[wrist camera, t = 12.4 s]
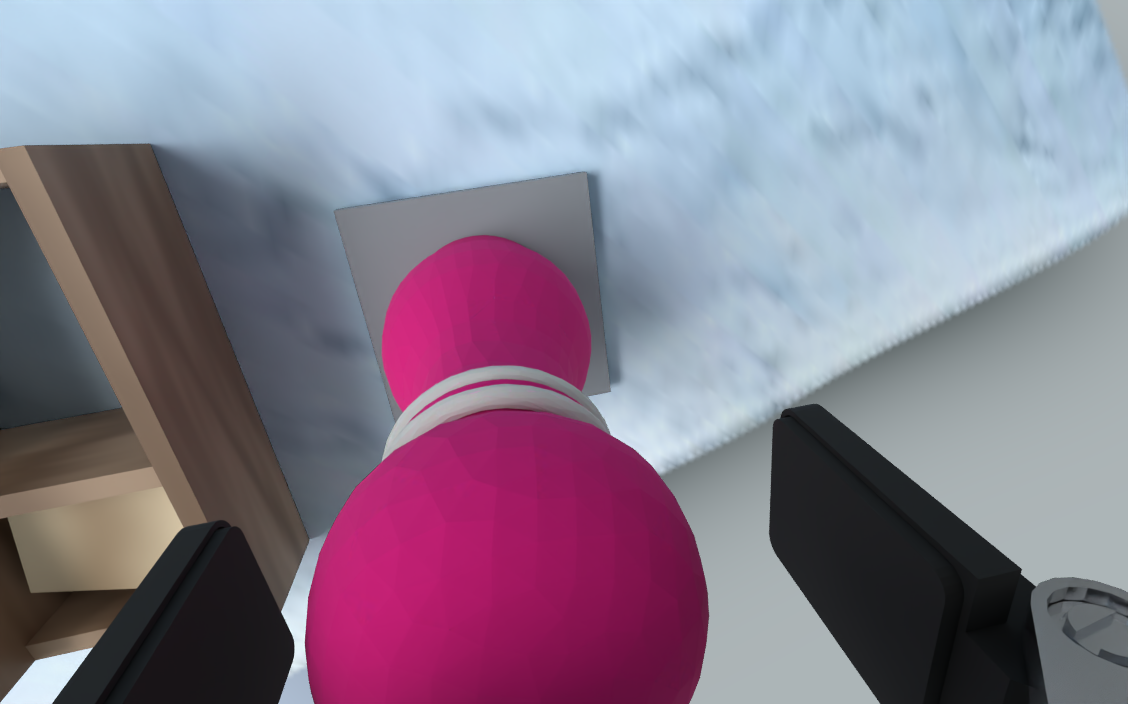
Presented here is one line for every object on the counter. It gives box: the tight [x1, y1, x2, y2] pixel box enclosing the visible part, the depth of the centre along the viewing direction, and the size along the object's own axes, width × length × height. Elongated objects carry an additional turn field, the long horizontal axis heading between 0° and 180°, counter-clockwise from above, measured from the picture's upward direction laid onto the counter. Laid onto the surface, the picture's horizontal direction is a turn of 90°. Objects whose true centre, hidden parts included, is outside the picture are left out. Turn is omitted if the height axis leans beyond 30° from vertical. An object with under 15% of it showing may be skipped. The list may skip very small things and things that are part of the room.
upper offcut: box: [8, 487, 184, 593], centre depth 22 cm, size 7×5×2 cm
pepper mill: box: [305, 235, 709, 704], centre depth 14 cm, size 7×7×20 cm
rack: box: [0, 144, 309, 702], centre depth 20 cm, size 11×18×6 cm, turn 8°
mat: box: [334, 172, 611, 423], centre depth 23 cm, size 10×10×1 cm
